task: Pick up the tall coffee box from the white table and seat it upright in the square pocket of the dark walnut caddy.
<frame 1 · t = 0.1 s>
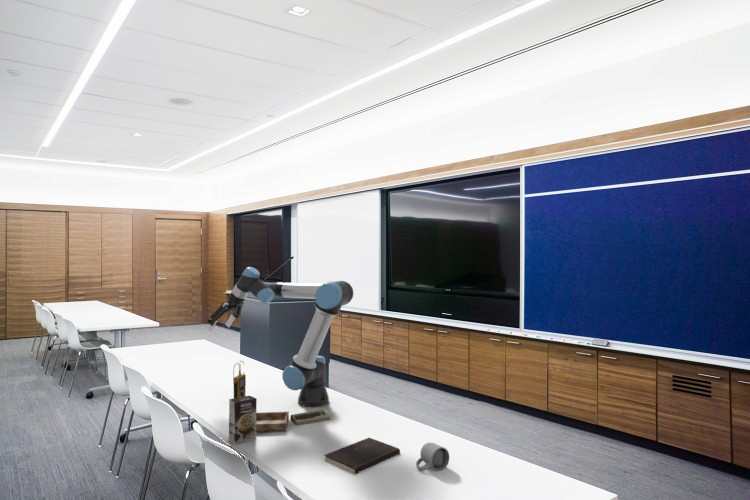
hand: (218, 327, 243), 36 cm above the table, tool tilted 35°, fingers open, 13 cm apart
caddy: (269, 425, 204), on the table
hardcover book: (362, 458, 173), on the table
ceramic mug: (431, 468, 165), on the table
multimeter: (246, 403, 236), on the table
coffee box: (242, 439, 189), on the table
computer: (310, 421, 212), on the table
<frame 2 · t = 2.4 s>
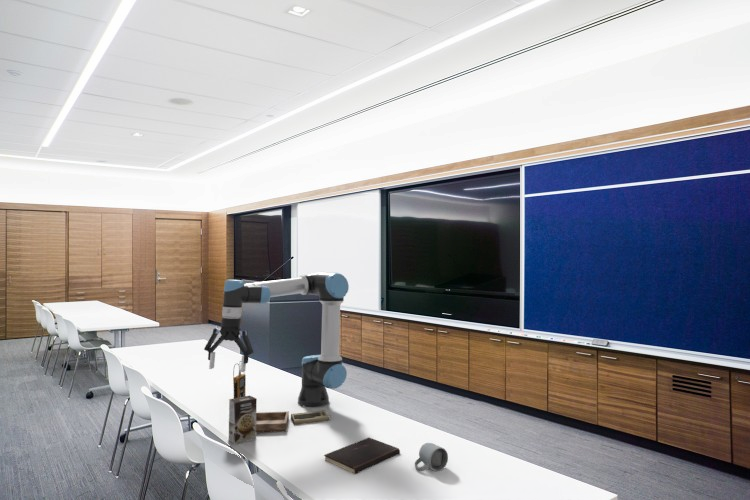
hand: (227, 370, 194), 26 cm above the table, tool pointing down, fingers open, 13 cm apart
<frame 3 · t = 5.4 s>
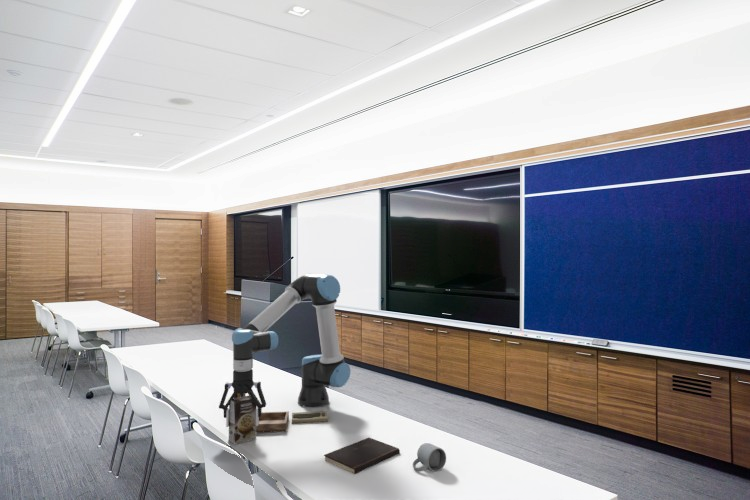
hand: (242, 425, 189), 6 cm above the table, tool pointing down, fingers closed on coffee box, 11 cm apart
coffee box: (242, 439, 189), on the table, touching gripper
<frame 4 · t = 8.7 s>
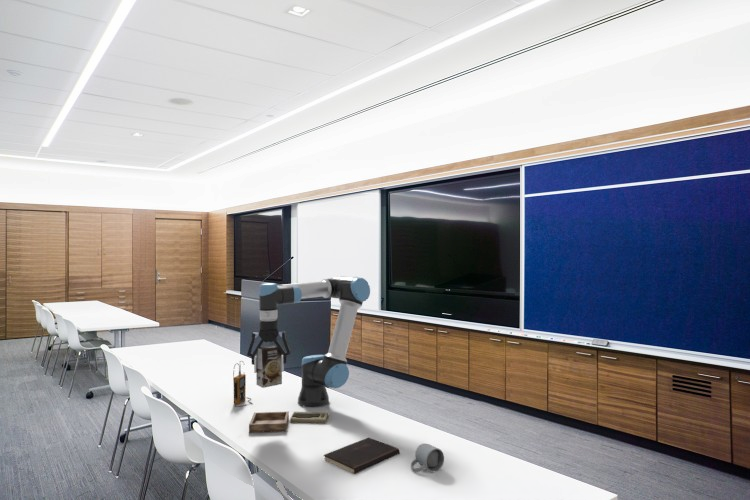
hand: (269, 371, 204), 23 cm above the table, tool pointing down, fingers closed on coffee box, 11 cm apart
coffee box: (269, 385, 204), point 18 cm above the table, touching gripper
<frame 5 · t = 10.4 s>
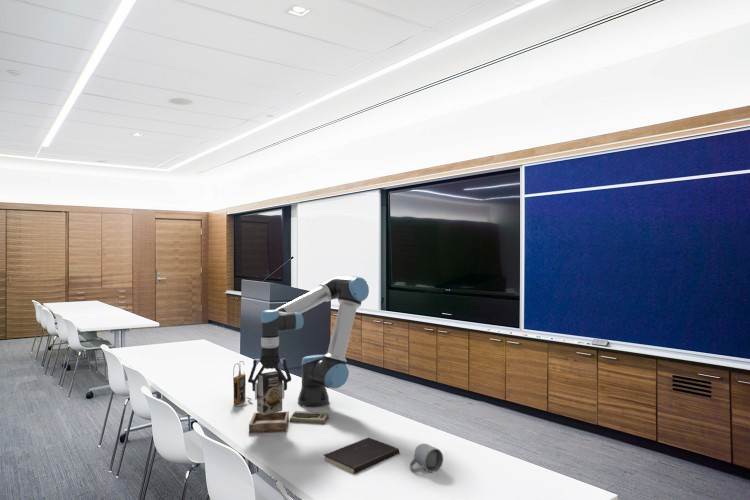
hand: (269, 398, 204), 12 cm above the table, tool pointing down, fingers closed on coffee box, 11 cm apart
coffee box: (269, 411, 204), point 6 cm above the table, touching gripper
when the fingers open (7 cm above the table, at t = 11.9 s): coffee box stays where it is, resting on caddy.
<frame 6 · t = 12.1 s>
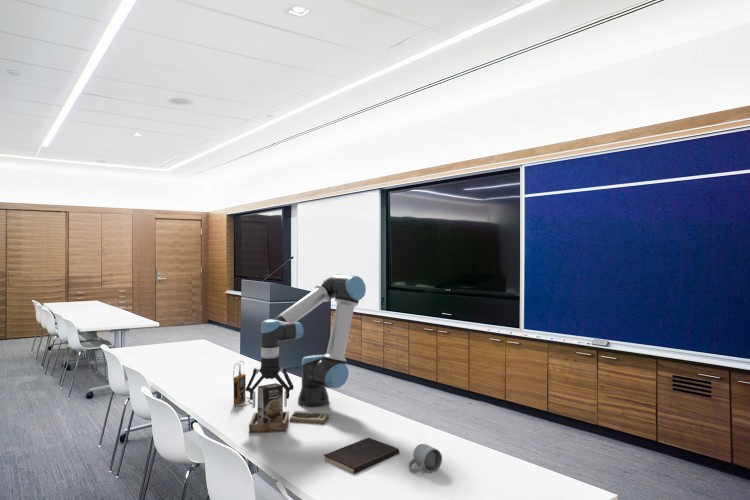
hand: (269, 406, 204), 8 cm above the table, tool pointing down, fingers open, 13 cm apart
coffee box: (270, 424, 204), point 1 cm above the table, touching caddy
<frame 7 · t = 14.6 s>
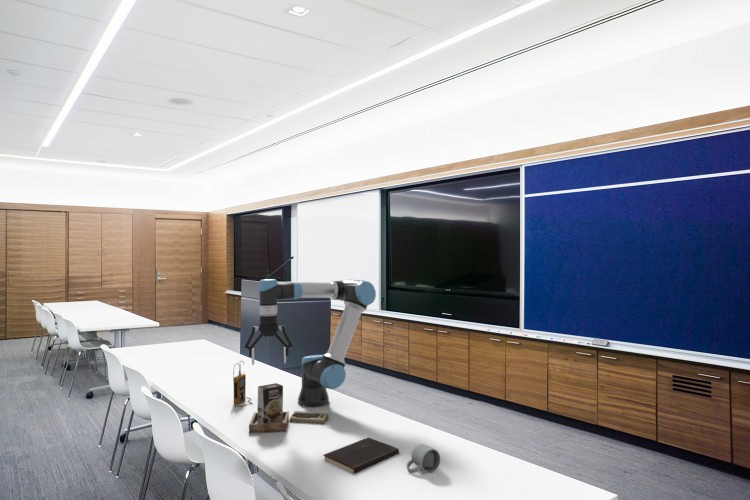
hand: (269, 363, 208), 26 cm above the table, tool pointing down, fingers open, 13 cm apart
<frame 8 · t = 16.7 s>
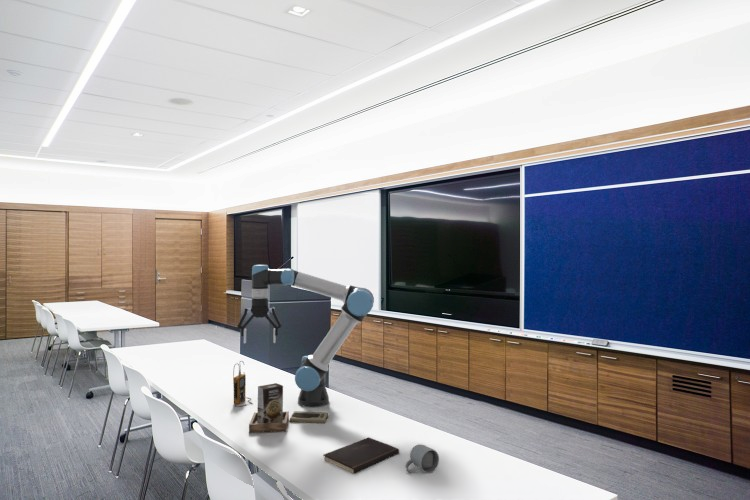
hand: (259, 342, 225), 32 cm above the table, tool pointing down, fingers open, 13 cm apart
at the end: coffee box 0.2 cm off-centre on the caddy, point 0.8 cm above the caddy's base; coffee box tilted 0°; the gripper is holding nothing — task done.
